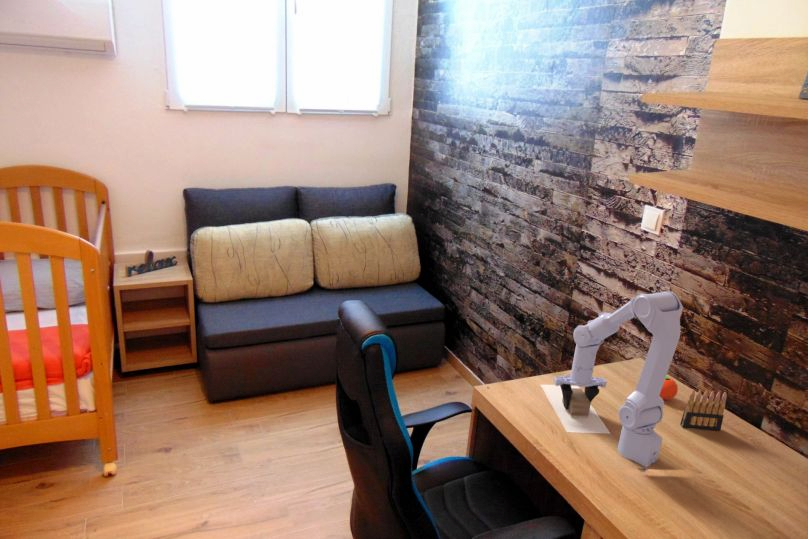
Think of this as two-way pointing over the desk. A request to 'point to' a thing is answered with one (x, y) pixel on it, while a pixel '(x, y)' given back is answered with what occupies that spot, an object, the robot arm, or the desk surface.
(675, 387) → the clementine
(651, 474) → the desk surface
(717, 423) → the ammunition clip
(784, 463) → the desk surface
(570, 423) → the plank
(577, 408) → the block
